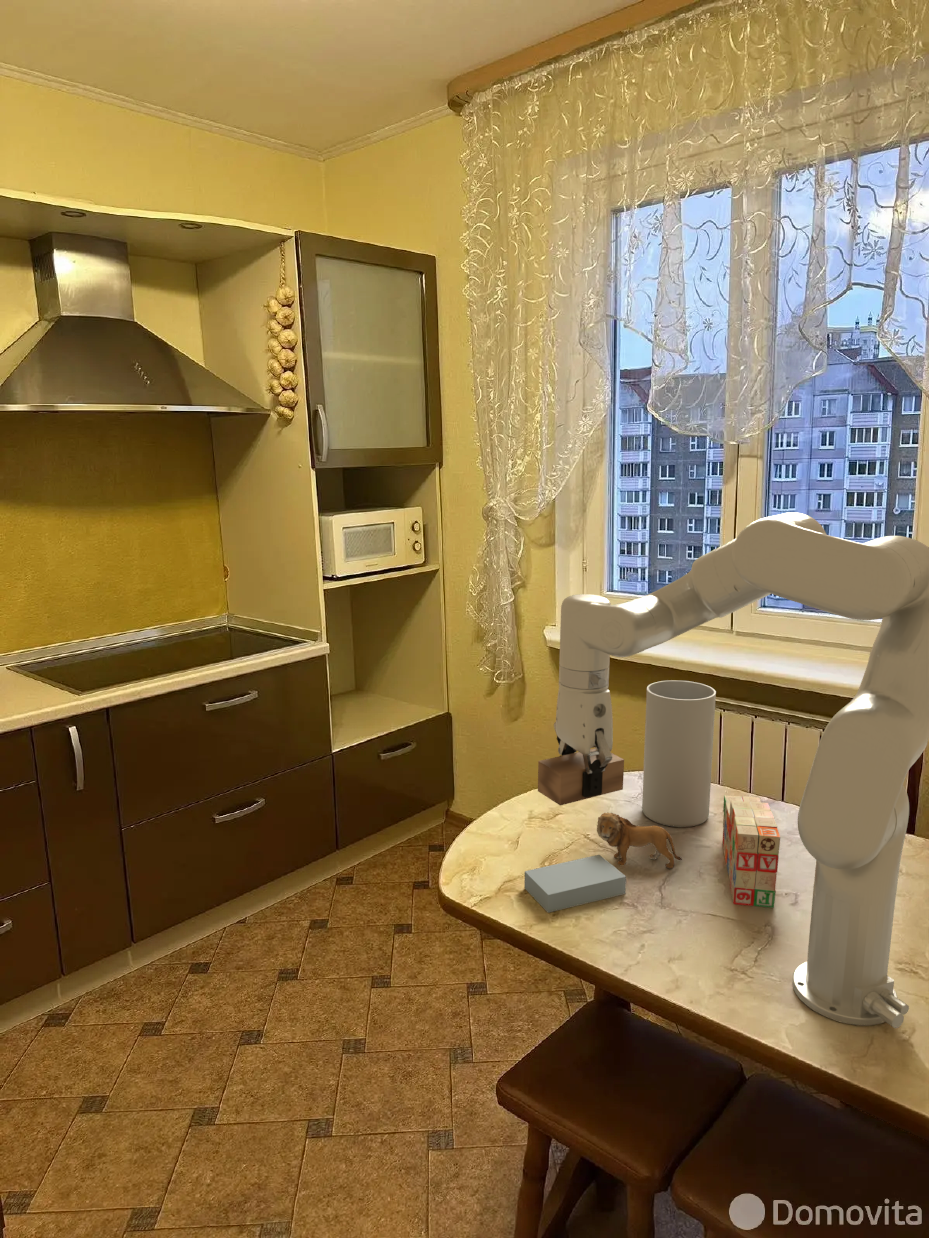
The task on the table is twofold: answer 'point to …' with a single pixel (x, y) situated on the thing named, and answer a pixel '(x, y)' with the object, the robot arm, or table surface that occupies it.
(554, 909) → the base slab
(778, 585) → the robot arm
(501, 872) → the table surface
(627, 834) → the lion figurine
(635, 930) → the table surface
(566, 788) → the walnut brick
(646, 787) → the cylinder vase
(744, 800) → the stack of blocks
